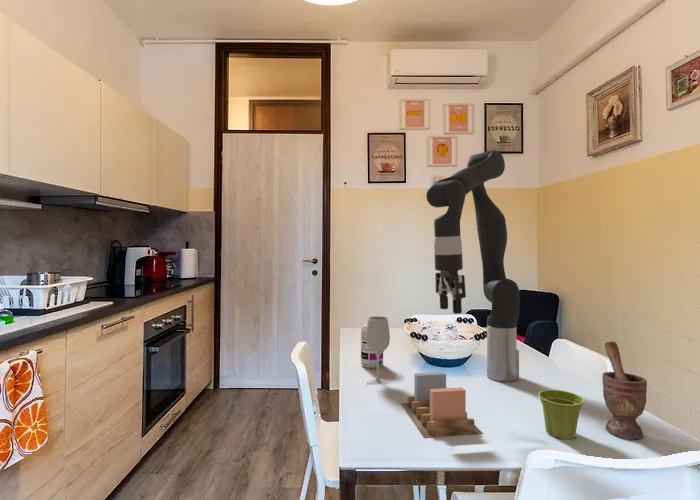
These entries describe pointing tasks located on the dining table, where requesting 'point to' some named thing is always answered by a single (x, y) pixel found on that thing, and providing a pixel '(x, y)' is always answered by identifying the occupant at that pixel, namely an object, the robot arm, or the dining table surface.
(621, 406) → the mortar and pestle
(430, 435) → the dish rack
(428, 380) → the grey-blue thick slab
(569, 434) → the plant pot
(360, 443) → the dining table surface
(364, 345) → the supplement can
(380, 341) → the wineglass
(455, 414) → the salmon pink rectangular prism
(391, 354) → the dining table surface
